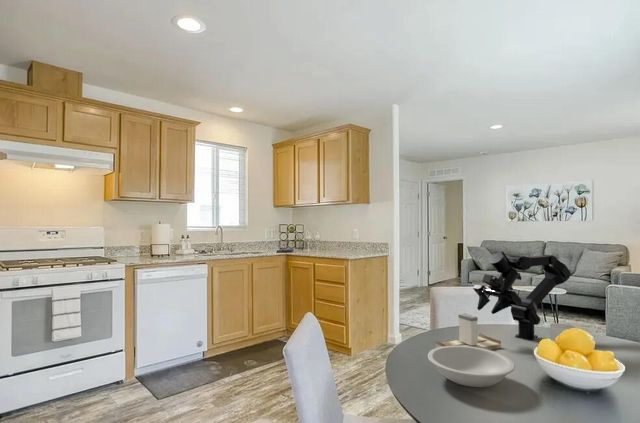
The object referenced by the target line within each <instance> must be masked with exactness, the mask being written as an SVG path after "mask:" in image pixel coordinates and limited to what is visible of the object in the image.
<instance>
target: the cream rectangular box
mask: <svg viewBox="0 0 640 423" xmlns="http://www.w3.org/2000/svg"><path fill="white" fill-rule="evenodd" d="M478 320H479V319H478V316H474V315H471V314H468V313H459V314H458V324H459V325H458V329H459V330H458V332H459V333H458V337H459V338H458V340H459V341H461V342H464V343H466V344H469V345H471V346H472V345H478V338H477V337H478Z"/></svg>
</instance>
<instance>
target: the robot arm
mask: <svg viewBox="0 0 640 423" xmlns="http://www.w3.org/2000/svg"><path fill="white" fill-rule="evenodd" d="M488 262H489V263H490V265H491V266H492V268H494V270H495V271H496V273H499V274H496V275H493V274H492V275H491V274H486V273H484V275H483V278H482V280H481V282H482V283H483V284H484V283H485V284H486V285H487V286H486V285H483V284H478V283H476V284H475V285H474V286H473V287H472V289H473V291H474V292H475V293H476V294H477V295H478V303H477V307H476V308H477V310H478V311H480V310H482V309H483V308H484V307H485V306H486V305H487V304H489V302H491V300H490V299H489V298H490V296H493V297H496V298H497V301H496V302H495V304H494V306H493V308H492V310H491V315H494V314H497V313H498V312H500V311H502V310H505V309H507V308H509V307H510V313H511V317H512V319H513V321H517V323H518V324H517V325H518V333H517V334H515V338H520V339H523V340H524V339H525V340H528V341H534V340H535V339H537V338H538V335H536V334H535V325H536V326H537V325H539V324H540V323H541V318H540V316H539V315H538V314H537V313H538V306H539V305H540V304H541V302H542V301H543V300H544V299H545V298H546V297H547V296H548V294H550V293H551V291H552V290H554V288H555V287H556V286H559V285H561V284H565V283H566V282H567V281H568V280H569V279H570V277H571V275H572V274H571V270H570V269H569V268H568V266H567V265H566V264H564V263H563V262H562V261H560V260H559V259H558V258H557V256H555V255H552V254H542V255H534V256H533V255H530V256H525V255H515V254H510V255H508V257H507V255H506V254H505V252H504V251H501V250H498V251H497V252H496V253H494V254H491V255H490V256H489V258H488ZM540 266H542V270H543V271H544V278H543V279H542V280H541V281H540V282H539V283H538V285H536V286H535V288H533V290H532V291H531V292H530V293H529V294H528V295H527V296H526V297H525V298H524V297H521V296H519V295H518V294H517V292H516V291H514V290H513V289H514V288H513V284H514V283H515V281H517V280H518V281H522V276H521V272H519V271H527V270H529V269H531V268H533V267H540ZM487 287H488V288H489V289H488V288H487Z"/></svg>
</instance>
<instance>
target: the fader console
mask: <svg viewBox="0 0 640 423" xmlns="http://www.w3.org/2000/svg"><path fill="white" fill-rule="evenodd" d="M477 338H478V345H472V346H471V345H469V344H466V343H464V342H461V341H459V339H456V340H450V341H444V342H441V341H439V340H435V348H438V347H443V346H470V347H477V348H483V349H487V350H491V351H493V350H496V349H501V348H502V341H501V340H498V339H497V338H493V337H491V336H488V335H486V334H482V333H478V336H477Z"/></svg>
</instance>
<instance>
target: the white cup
mask: <svg viewBox="0 0 640 423" xmlns="http://www.w3.org/2000/svg"><path fill="white" fill-rule="evenodd" d="M569 328H576V329H577V327H576V326H575V325H572V324H567V323H560V322H558V323H557V322H556V323H555V322H554V323H550V324H549V330H550V332H549V333H550V341H551V340H553V341H554V340H555V338H556V337H557V336H558V335H559V334H560V333H562V331H563V330H565V329H569Z"/></svg>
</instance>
